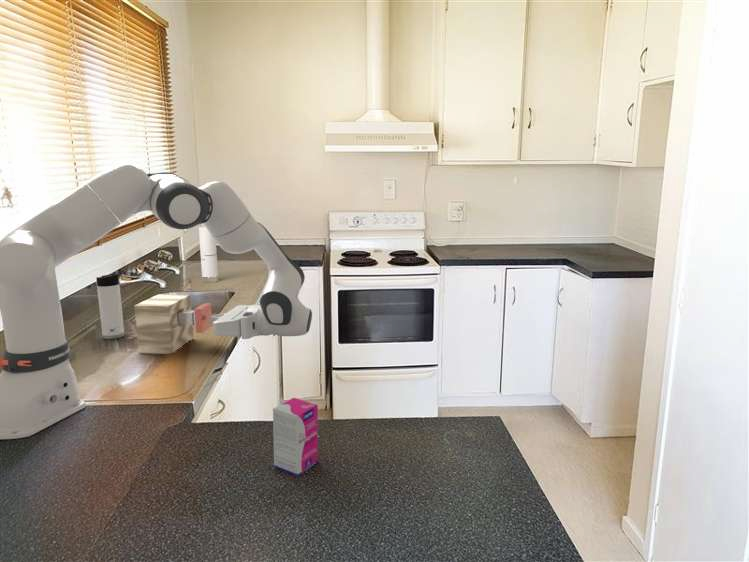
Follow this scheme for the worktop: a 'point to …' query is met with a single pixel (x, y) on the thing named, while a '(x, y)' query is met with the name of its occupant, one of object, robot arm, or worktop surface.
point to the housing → (162, 324)
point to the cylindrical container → (208, 253)
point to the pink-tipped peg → (196, 317)
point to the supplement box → (295, 436)
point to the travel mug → (110, 306)
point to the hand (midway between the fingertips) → (210, 318)
